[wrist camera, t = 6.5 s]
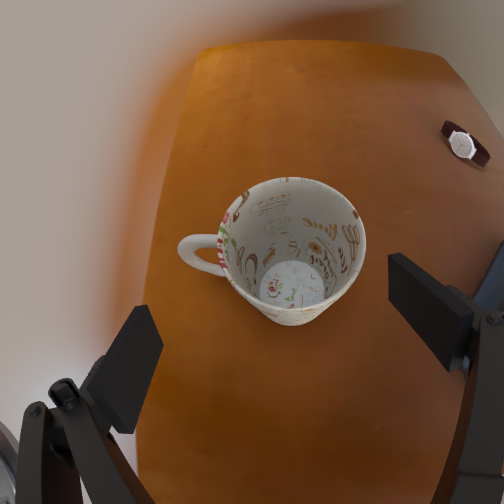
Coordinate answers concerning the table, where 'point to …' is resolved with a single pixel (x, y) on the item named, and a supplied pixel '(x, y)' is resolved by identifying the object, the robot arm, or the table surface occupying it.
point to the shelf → (490, 290)
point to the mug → (286, 248)
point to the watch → (465, 144)
